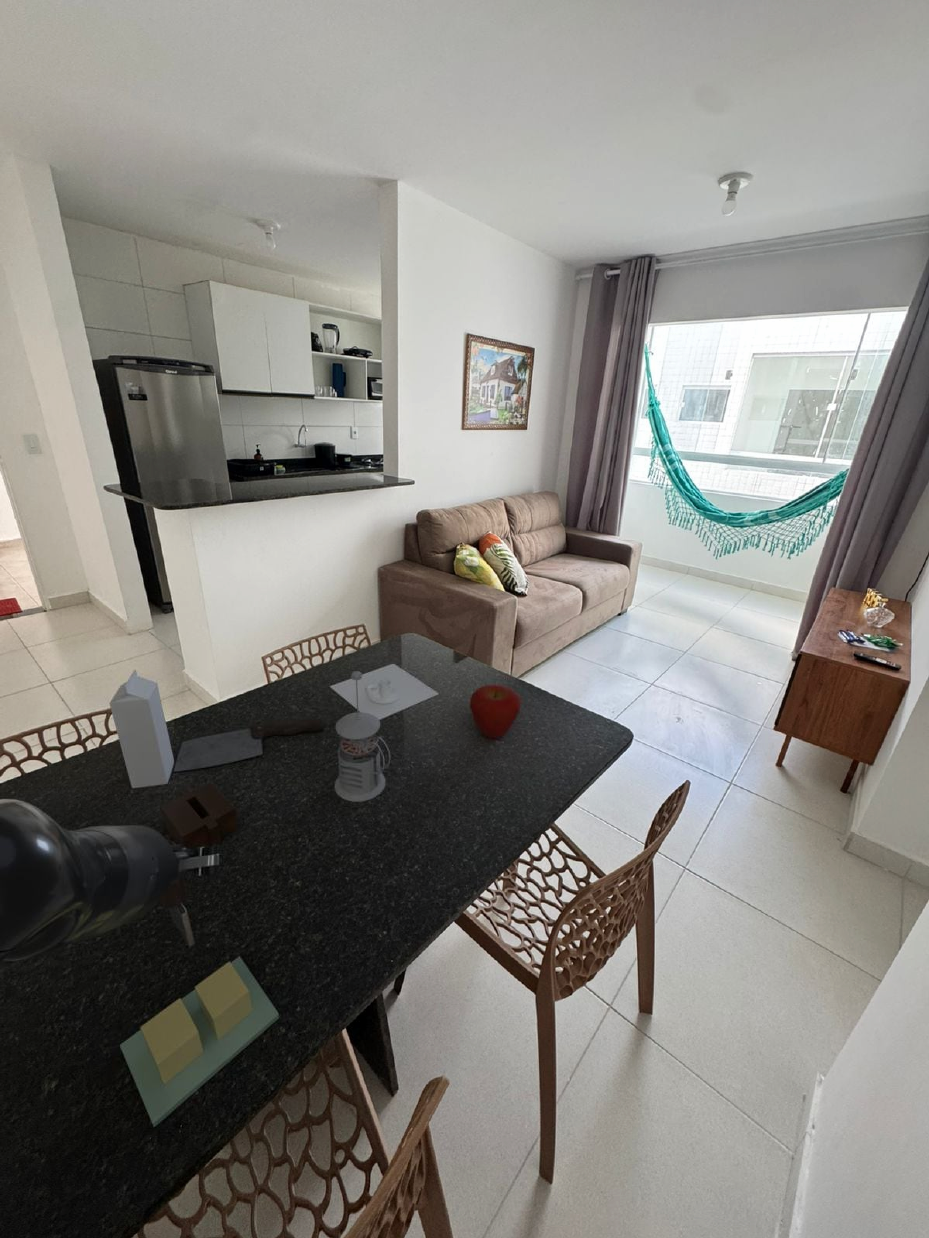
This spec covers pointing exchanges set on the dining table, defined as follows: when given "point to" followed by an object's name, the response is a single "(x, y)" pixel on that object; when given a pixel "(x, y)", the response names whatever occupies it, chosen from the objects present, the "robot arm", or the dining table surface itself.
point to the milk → (142, 732)
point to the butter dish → (206, 1061)
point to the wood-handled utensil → (178, 908)
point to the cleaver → (237, 743)
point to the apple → (494, 709)
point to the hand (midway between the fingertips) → (174, 862)
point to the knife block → (199, 817)
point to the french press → (359, 755)
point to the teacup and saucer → (384, 691)
